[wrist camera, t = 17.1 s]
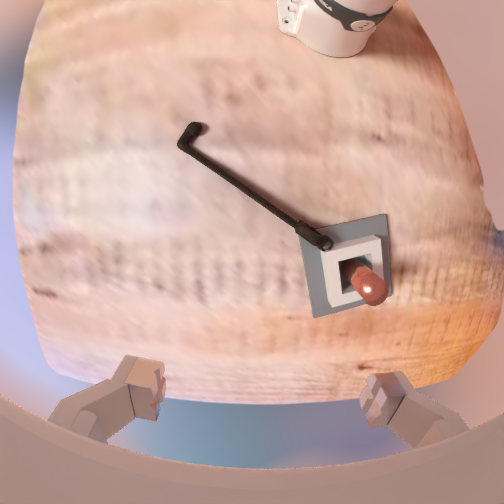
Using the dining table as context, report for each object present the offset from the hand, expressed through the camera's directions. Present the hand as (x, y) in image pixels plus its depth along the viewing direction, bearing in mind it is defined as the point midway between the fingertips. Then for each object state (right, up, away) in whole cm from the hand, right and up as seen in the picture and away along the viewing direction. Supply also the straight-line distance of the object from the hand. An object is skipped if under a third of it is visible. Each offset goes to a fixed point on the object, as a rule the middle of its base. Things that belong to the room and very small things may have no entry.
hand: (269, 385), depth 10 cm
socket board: (+17, +3, +38) cm, 42 cm away
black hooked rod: (+1, +16, +34) cm, 38 cm away
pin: (+17, +2, +37) cm, 41 cm away
